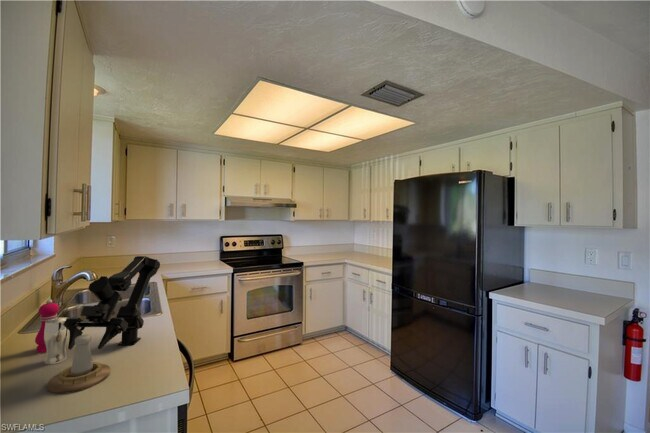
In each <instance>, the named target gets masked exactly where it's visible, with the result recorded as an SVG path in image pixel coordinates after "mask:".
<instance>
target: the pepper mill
mask: <svg viewBox="0 0 650 433" xmlns="http://www.w3.org/2000/svg"><path fill="white" fill-rule="evenodd" d="M59 311H60V305H58V304H57V303H55V302H53V300H52V299H51V298H49V299H47V300H46V303H44V304H42V305H41V306H40V307H39V308H38V314H39V315H40V316H39V317H40V319H39V321H41V325H40V329H39V330H38V332H37V334H36V336H35V340H34V343H35V344H36V345H37V346H36V353H40V354H43V353H46V345H45V340H44V330H45V322H46V321H47V320H50V319H54V318H58V314H57V313H58V312H59Z"/></svg>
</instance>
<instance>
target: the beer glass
mask: <svg viewBox="0 0 650 433" xmlns="http://www.w3.org/2000/svg"><path fill="white" fill-rule="evenodd" d="M68 318H69V317H66V316H65V317H64V316H61V317H60V316H59V317H57V318H54V319H50V320H47V321H46V322H45V330H44V340H45V345H46V352H45V353H46V356H45V358H44V364H45V365H55V364H58V363H63V362H64V361H65V360H67V359H68V356H67V350H66V349H67V343H68V342H69V338H70V331H69V330H68V329H67V328H66V327H65V326H64V325H63V324H64V322H65V320H66V319H68Z"/></svg>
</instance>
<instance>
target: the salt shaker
mask: <svg viewBox="0 0 650 433" xmlns="http://www.w3.org/2000/svg"><path fill="white" fill-rule="evenodd" d="M91 341H92V335H90V334H82V335H80V336H78V337H76V338H75V345H76V347H75V351H74V356H73V359H72V362H71V366H70V367H71V374H72V375H73V376H74V377H78V376H83V375H86V374H88V373H89V372H90V371H91V369H92V368H93V362H94V361H93V358H92V352H91V351H92V350H91V347H90V343H91ZM75 345H74V346H75Z"/></svg>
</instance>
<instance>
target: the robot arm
mask: <svg viewBox="0 0 650 433" xmlns="http://www.w3.org/2000/svg"><path fill="white" fill-rule="evenodd" d="M160 265H161V263H160V261H159V260H158V259H156V258H155V259H154V258H150V257H149V256H146V255H144V256H142V255H141V256H140V255H136V256H134V258H133V260H132V261H131V262H130V263H129V264H128V265H126V266H125V268H123V270H121V271H120V272H117V273H114V274H112V275H111V276H109V277H108V276H106V275H103V276H100V277H99V278H98V279H95V280H93V281H91V283H89V284H88V290H89V292H90V293H91V294H92V295H93V296H94V297H95V298H96V299H97V300H98V303H97V304H94V305H83V306H82V309H81V313H80V315H79V316H80V317H68V319H66V320H65V322H64V324H63V325H64V326H65V327H66V328H67V329H68V330H69V337H68V346H67V349H68V351H71V350H72V349H73V348H74V347H75V338H76V337H78V336H80V335H83V333H84V332H83V331H84V330H85V328H105V332H104V334H103V336H102V338H101V340H100V341H99V344H98V346H97V349H98V350H102V348H103V347H104V346H106V344H108V343H109V342H110V341H111V340H112V339H114V338H115V337H116V336H118V335H120V334H121V341H119V342H118V343H117V346H132V345H133V346H134V345H135V344H137V343H138V342H139V341H140V340H141V339H142V338H141V337H138V333H139V332H138V331H139V329H142V328H143V326H144V324H145V323H144V322H145V321H144V319H143V318H142V316H141V315H142V312H141V308H140V306H141V304H142V301H143V298H144V296H145V293H146V292H147V288H148V286H149V283H150V280H151V278H152V277H154V276H155V275H156V274H157V272H158V270H159V269H160V267H161V266H160ZM137 274H138V277H137V279H136V282H135V285H134V287H133V289H132V292H131V294H130V296H129V299H128V301H127V303H126V304H125V305H121V306H120V307H119V309H118V312H117V314H116V316H115V317H112V316H114V315H115V313H116V312H115V309H116V307H117V305H118V303H119V302H122V301H123V296H122V294H121V293H119V292H126V291H127V290H128V289H129V288H130V286H131V285H132V279H133V278H134V277H135V276H136V275H137ZM81 317H85V319H86V320H88V321H84V320H83V319H82V318H81Z"/></svg>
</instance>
